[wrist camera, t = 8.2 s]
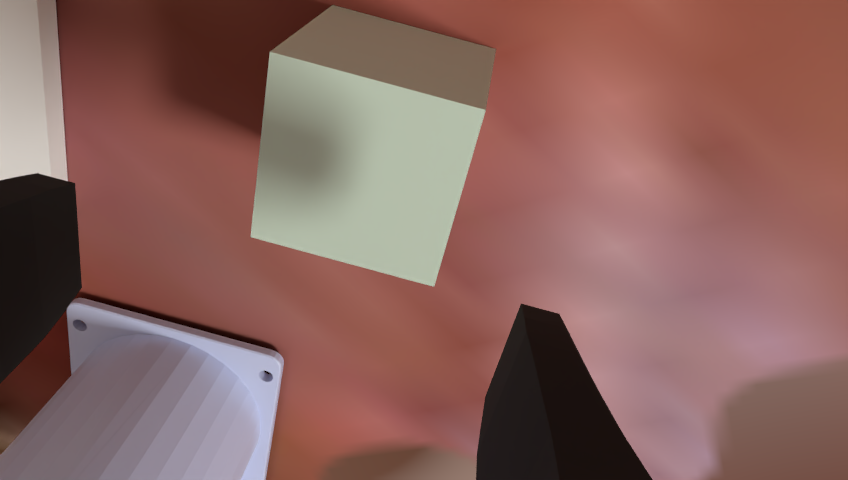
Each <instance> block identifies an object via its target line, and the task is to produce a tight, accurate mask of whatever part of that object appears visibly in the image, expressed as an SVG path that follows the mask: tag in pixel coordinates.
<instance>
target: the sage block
mask: <svg viewBox="0 0 848 480" xmlns="http://www.w3.org/2000/svg"><path fill="white" fill-rule="evenodd" d="M495 52H496V49H494V48H490V47H486V46H483V45H479V44H475V43H472V42H468V41H464V40H461V39H457V38H453V37H449V36H446V35H442V34H438V33H435V32H431V31H427V30H424V29H420V28H416V27H413V26H409V25H405V24H401V23H398V22H394V21H390V20H387V19H383V18H379V17H376V16H372V15H368V14H364V13H361V12H357V11H353V10H350V9H346V8H342V7H339V6H335V5H332V6H331V7H329V8H328V9H327V10H325V11H324V12H323V13H321V14H320V15H318V16H317V17H316V18H314V19H313V20H312V21H310V22H309V23H308V24H306V25H305V26H304V27H302V28H301V29H300V30H298V31H297V32H296V33H294V34H293V35H292V36H290V37H289V38H288V39H286V40H285V41H283V42H282V43H281V44H279V45H278V46H277V47H275V48H274V49H273V50H271V51H270V54H269V64H268V74H267V83H266V93H265V103H264V112H263V122H262V132H261V142H260V151H259V161H258V171H257V180H256V190H255V200H254V209H253V219H252V229H251V237H252V238H256V239H260V240H263V241H267V242H271V243H274V244H278V245H282V246H286V247H289V248H293V249H297V250H300V251H304V252H308V253H311V254H315V255H319V256H322V257H326V258H330V259H334V260H337V261H341V262H345V263H348V264H352V265H356V266H359V267H363V268H367V269H370V270H374V271H378V272H382V273H385V274H389V275H393V276H396V277H400V278H404V279H407V280H411V281H415V282H418V283H422V284H426V285H430V286H433V287H434V285H435V282H436V278H437V275H438V272H439V268H440V265H441V261H442V258H443V254H444V251H445V248H446V244H447V241H448V237H449V234H450V230H451V227H452V224H453V220H454V217H455V213H456V210H457V207H458V203H459V200H460V196H461V193H462V189H463V186H464V183H465V179H466V176H467V172H468V169H469V165H470V162H471V159H472V155H473V152H474V148H475V145H476V142H477V138H478V135H479V131H480V128H481V124H482V121H483V118H484V114H485V111H486V105H487V99H488V94H489V88H490V82H491V76H492V70H493V64H494V58H495Z"/></svg>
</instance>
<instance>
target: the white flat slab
mask: <svg viewBox="0 0 848 480" xmlns="http://www.w3.org/2000/svg"><path fill="white" fill-rule="evenodd" d="M36 173H39V174H42V175H46V176H50V177H54V178H57V179H61V180H65V181H68V179H67V164H66V148H65V133H64V118H63V103H62V88H61V73H60V58H59V43H58V27H57V12H56V0H0V180H4V179H9V178H13V177H18V176H24V175H30V174H36Z"/></svg>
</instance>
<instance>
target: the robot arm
mask: <svg viewBox="0 0 848 480" xmlns="http://www.w3.org/2000/svg"><path fill="white" fill-rule="evenodd" d="M81 288H82V285H81V269H80V253H79V238H78V222H77V207H76V191H75V183H72V182H68V181H65V180H61V179H57V178H54V177H50V176H46V175H42V174H39V173H36V174H30V175H24V176H18V177H13V178H9V179H4V180H0V383H1V382H2V381H3V380H4V379H5V378H6V377H7V376H8V375H9V374H10V373H11V372H12V371H13V370H14V369H15V368H16V367H17V366H18V365H19V364H20V362H21V361H22V360H23V359H24V358H25V357H26V356H27V355H28V354H29V353H30V352H31V351H32V350H33V349H34V348H35V347H36V346H37V345H38V344H39V343H40V342H41V341H42V340H43V339H44V338H45V336H46V335H47V334H48V332H49V331H50V330H51V329H52V327H53V326H54V325H55V323H56V322H57V321H58V320H59V318H60V317H61V316H62V314H63V313H64V312H65V310H66V309H67V323H68V336H69V350H70V363H71V376H70V377H69V379H68V380H67V381H66V382H65V383H64V384H63V385H62V386H61V388H60V389H59V390H58V391H57V392H56V393H55V394H54V396H53V397H52V398H51V399H50V400H49V401H48V402H47V403H46V405H45V406H44V407H43V408H42V409H41V410H40V411H39V412H38V414H37V415H36V416H35V417H34V418H33V419H32V420H31V421H30V423H29V424H28V425H27V426H26V427H25V428H24V429H23V430H22V432H21V433H20V434H19V435H18V436H17V437H16V438H15V439H14V441H13V442H12V443H11V444H10V445H9V446H8V447H7V448H6V450H5V451H4V452H3V453H2V454H1V455H0V480H266V475H267V468H268V462H269V455H270V449H271V443H272V436H273V430H274V423H275V417H276V411H277V404H278V398H279V391H280V385H281V379H282V372H283V366H284V360H283V358H282V356H281V355H280V354H279V353H278V352H276V351H274V350H271V349H267V348H264V347H260V346H257V345H253V344H249V343H246V342H242V341H238V340H235V339H231V338H227V337H224V336H220V335H216V334H213V333H209V332H205V331H202V330H198V329H194V328H191V327H187V326H183V325H180V324H176V323H172V322H169V321H165V320H162V319H158V318H154V317H151V316H147V315H143V314H140V313H136V312H132V311H129V310H125V309H121V308H118V307H114V306H110V305H107V304H103V303H99V302H96V301H92V300H88V299H85V298H76V299H74V298H75V296H76V295H77V293H78V292H79V290H80V289H81ZM73 299H74V300H73ZM72 300H73V301H72ZM82 321H83V322H84V323H83V322H82ZM265 371H268V372H270V373H271V374H267V373H265ZM476 480H652V478H651V477H650V475H649V474H648V472H647V471H646V469H645V468H644V466H643V464H642V463H641V461H640V460H639V458H638V457H637V455H636V454H635V452H634V450H633V449H632V447H631V446H630V444H629V443H628V441H627V440H626V438H625V436H624V435H623V433H622V431H621V430H620V428H619V426H618V424H617V423H616V421H615V419H614V417H613V416H612V414H611V412H610V410H609V408H608V407H607V405H606V403H605V401H604V400H603V398H602V396H601V394H600V392H599V391H598V389H597V387H596V385H595V383H594V381H593V379H592V377H591V375H590V374H589V372H588V370H587V368H586V366H585V364H584V362H583V360H582V358H581V356H580V354H579V352H578V350H577V348H576V346H575V344H574V342H573V340H572V338H571V336H570V334H569V332H568V330H567V328H566V326H565V324H564V322H563V320H562V318H561V317H560V315H559V314H557V313H554V312H550V311H546V310H542V309H539V308H535V307H531V306H528V305H524V304H521V306H520V308H519V311H518V313H517V316H516V319H515V321H514V324H513V326H512V329H511V332H510V334H509V337H508V339H507V342H506V345H505V347H504V350H503V352H502V355H501V358H500V360H499V363H498V365H497V368H496V371H495V373H494V376H493V378H492V381H491V384H490V386H489V389H488V391H487V394H486V397H485V403H484V410H483V416H482V423H481V430H480V437H479V444H478V451H477V472H476Z"/></svg>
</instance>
